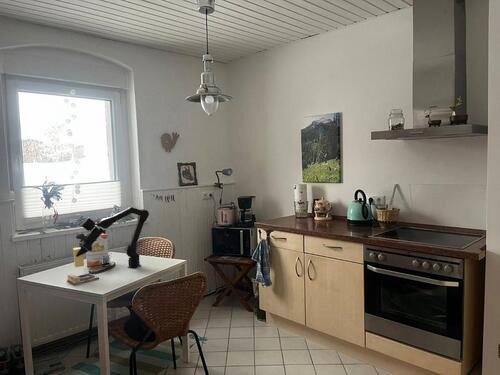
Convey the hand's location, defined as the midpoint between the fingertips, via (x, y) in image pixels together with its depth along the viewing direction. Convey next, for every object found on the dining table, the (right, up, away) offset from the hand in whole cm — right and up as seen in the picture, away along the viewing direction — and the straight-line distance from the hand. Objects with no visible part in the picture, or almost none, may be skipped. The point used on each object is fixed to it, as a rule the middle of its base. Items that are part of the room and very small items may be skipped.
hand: (76, 255), depth 230 cm
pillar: (+1, -6, +1) cm, 7 cm away
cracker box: (+2, -11, +28) cm, 30 cm away
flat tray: (+8, -13, -7) cm, 17 cm away
